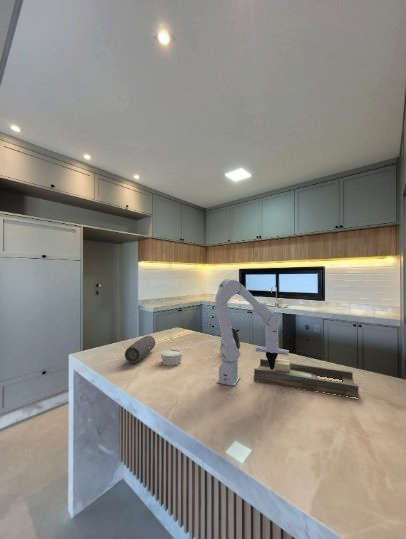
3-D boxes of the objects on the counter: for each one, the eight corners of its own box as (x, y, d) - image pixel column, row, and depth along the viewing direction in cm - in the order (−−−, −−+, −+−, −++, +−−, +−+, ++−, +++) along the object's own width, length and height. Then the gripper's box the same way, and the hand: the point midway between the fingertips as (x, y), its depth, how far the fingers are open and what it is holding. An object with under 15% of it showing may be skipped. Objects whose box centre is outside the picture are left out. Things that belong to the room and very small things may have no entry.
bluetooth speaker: (140, 366, 121) (141, 346, 122) (123, 365, 123) (123, 345, 123) (156, 351, 144) (156, 334, 144) (141, 350, 145) (141, 334, 145)
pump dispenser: (235, 356, 135) (235, 329, 135) (219, 353, 141) (219, 327, 141) (243, 352, 143) (243, 326, 143) (228, 348, 149) (228, 324, 150)
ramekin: (184, 359, 131) (184, 349, 132) (180, 367, 120) (180, 356, 120) (164, 358, 133) (164, 348, 133) (158, 366, 121) (158, 355, 122)
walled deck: (358, 399, 89) (358, 387, 89) (253, 380, 105) (253, 370, 105) (351, 381, 105) (351, 370, 105) (261, 366, 121) (261, 357, 121)
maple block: (289, 376, 104) (289, 364, 105) (274, 374, 107) (274, 362, 107) (290, 371, 110) (290, 360, 110) (276, 369, 112) (276, 358, 112)
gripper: (289, 338, 111) (289, 368, 111) (257, 335, 117) (257, 363, 117) (287, 342, 105) (288, 374, 105) (254, 339, 111) (254, 368, 111)
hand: (272, 369), depth 110 cm, fingers closed
